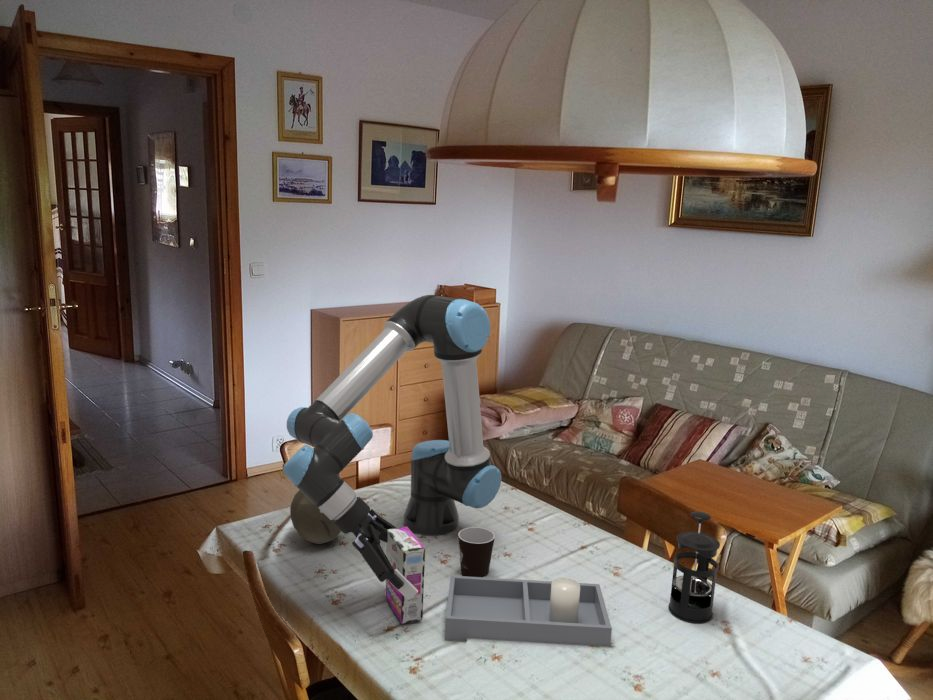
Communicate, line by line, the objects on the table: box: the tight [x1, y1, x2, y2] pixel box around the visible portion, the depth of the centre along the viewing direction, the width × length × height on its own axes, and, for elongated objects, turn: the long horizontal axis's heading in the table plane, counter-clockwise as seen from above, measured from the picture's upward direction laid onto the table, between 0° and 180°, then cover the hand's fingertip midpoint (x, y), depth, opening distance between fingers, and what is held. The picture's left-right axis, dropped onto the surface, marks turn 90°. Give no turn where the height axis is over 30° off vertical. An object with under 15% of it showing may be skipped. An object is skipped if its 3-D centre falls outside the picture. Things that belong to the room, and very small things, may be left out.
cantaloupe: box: [289, 489, 342, 545], centre depth 181 cm, size 14×14×15 cm
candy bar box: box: [385, 526, 426, 625], centre depth 150 cm, size 11×5×16 cm, turn 25°
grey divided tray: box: [444, 575, 613, 648], centre depth 150 cm, size 17×33×5 cm, turn 88°
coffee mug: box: [457, 526, 496, 578], centre depth 169 cm, size 12×9×10 cm
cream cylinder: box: [549, 577, 580, 623], centre depth 149 cm, size 6×6×8 cm
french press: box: [667, 511, 721, 625], centre depth 155 cm, size 12×9×23 cm
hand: (416, 580), depth 150 cm, fingers closed on candy bar box, 12 cm apart
